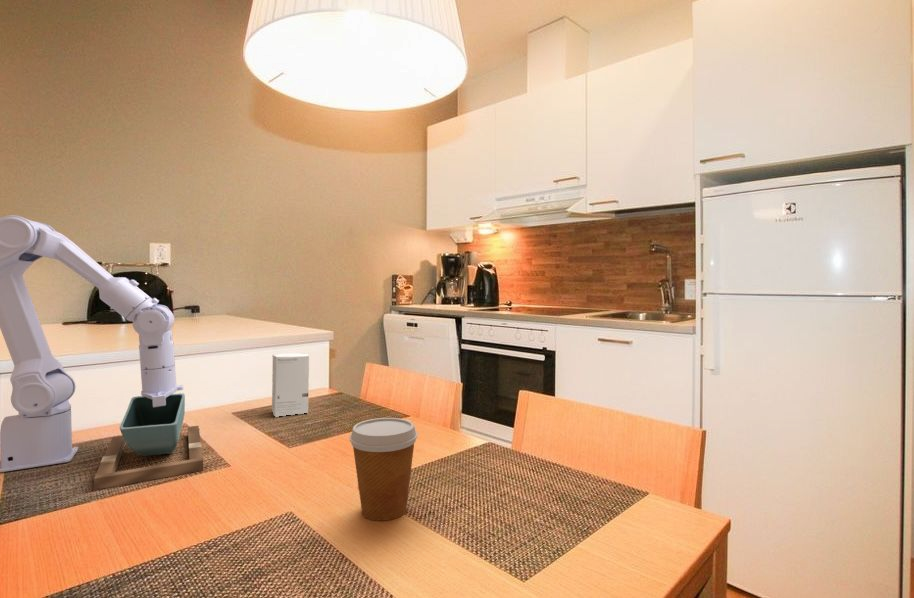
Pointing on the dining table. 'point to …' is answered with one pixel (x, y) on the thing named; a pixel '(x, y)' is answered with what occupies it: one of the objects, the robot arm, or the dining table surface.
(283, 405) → the skincare box
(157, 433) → the flower pot
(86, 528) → the dining table surface
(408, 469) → the disposable coffee cup
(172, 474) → the wooden frame
